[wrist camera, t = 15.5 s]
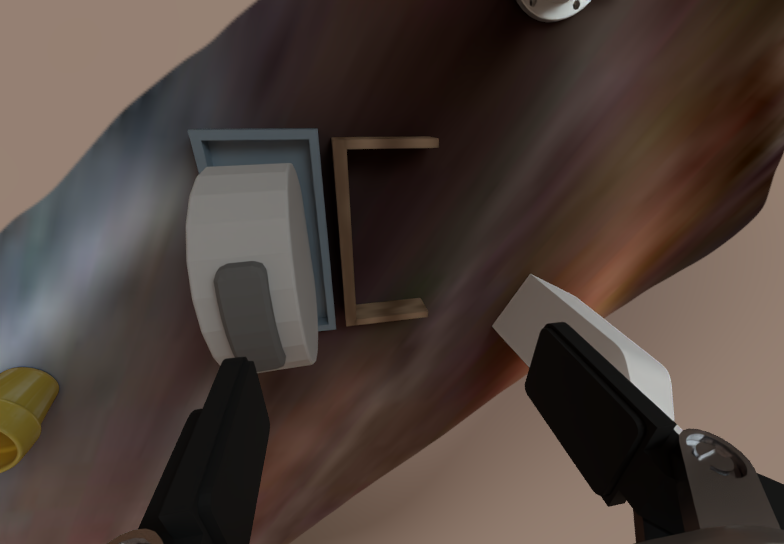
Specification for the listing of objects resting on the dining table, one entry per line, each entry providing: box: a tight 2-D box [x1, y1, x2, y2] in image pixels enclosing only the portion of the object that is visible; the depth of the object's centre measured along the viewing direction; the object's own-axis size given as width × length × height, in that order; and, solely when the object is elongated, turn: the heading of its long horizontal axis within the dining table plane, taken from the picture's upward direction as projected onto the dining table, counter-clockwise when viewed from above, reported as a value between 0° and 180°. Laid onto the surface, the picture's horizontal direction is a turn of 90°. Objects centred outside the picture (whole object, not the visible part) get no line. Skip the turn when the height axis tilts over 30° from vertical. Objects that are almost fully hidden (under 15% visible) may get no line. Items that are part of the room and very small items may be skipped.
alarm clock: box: [186, 163, 318, 373], centre depth 33 cm, size 21×8×20 cm, turn 2°
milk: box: [492, 274, 683, 434], centre depth 46 cm, size 12×12×26 cm
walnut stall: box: [331, 136, 439, 326], centre depth 43 cm, size 12×25×4 cm, turn 0°
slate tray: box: [188, 128, 336, 331], centre depth 41 cm, size 13×27×3 cm, turn 0°
